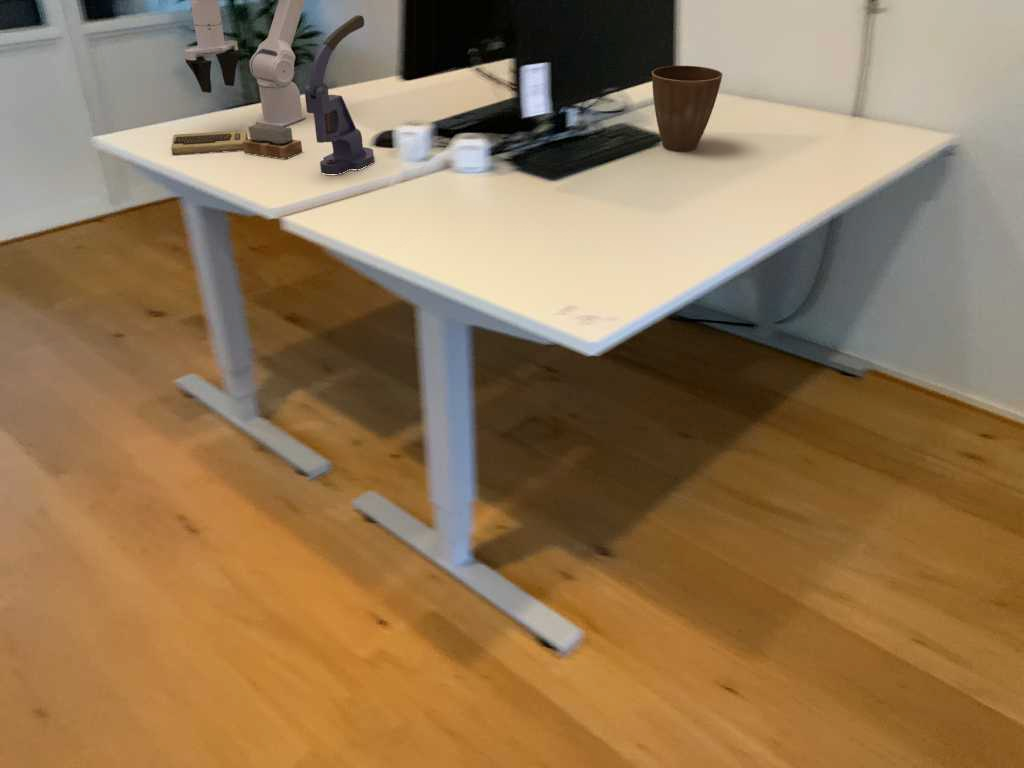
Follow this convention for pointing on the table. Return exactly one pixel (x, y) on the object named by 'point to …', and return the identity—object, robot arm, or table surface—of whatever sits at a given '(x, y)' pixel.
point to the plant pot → (684, 103)
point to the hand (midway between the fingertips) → (218, 88)
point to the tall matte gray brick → (270, 134)
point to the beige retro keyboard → (208, 142)
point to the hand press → (335, 111)
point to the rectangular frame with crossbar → (272, 148)
